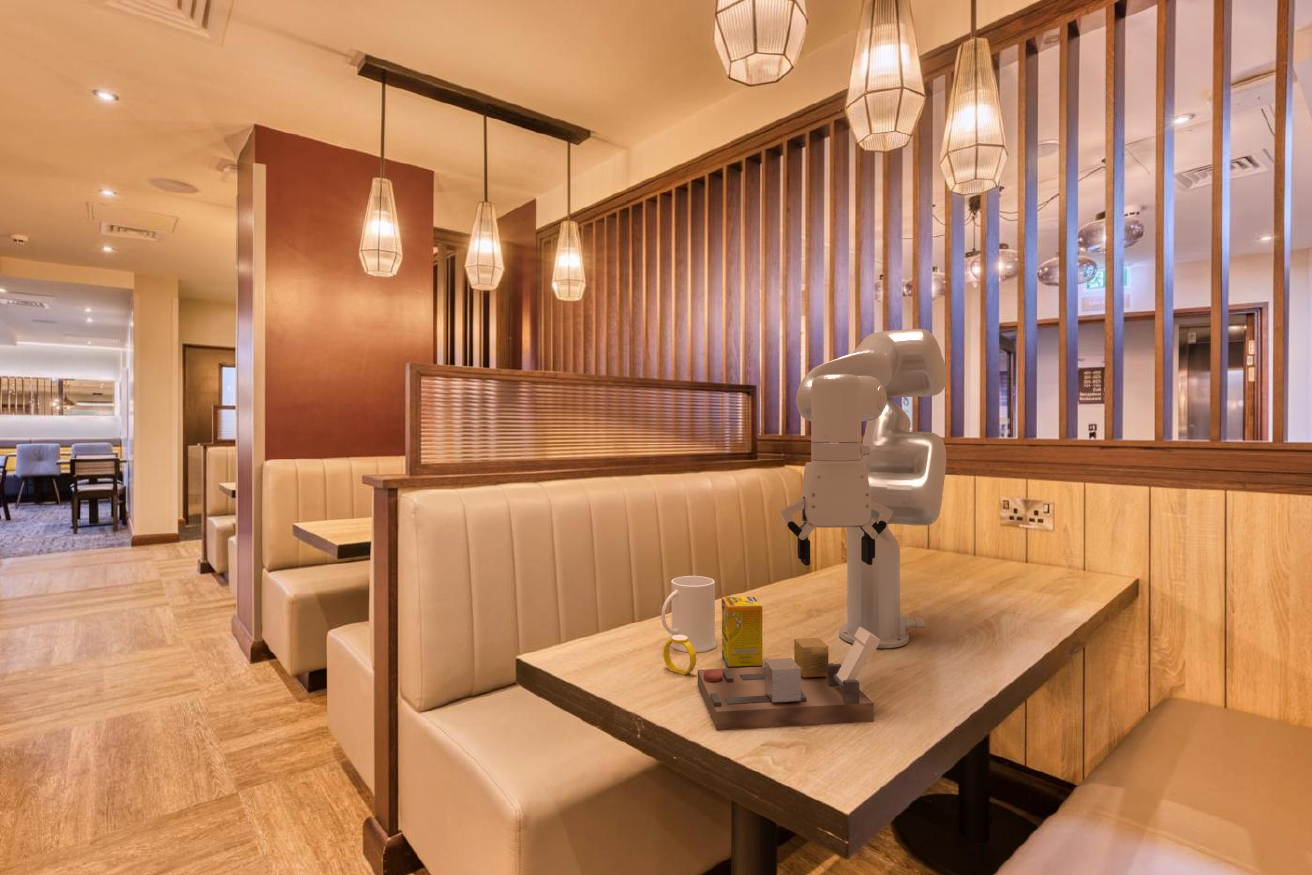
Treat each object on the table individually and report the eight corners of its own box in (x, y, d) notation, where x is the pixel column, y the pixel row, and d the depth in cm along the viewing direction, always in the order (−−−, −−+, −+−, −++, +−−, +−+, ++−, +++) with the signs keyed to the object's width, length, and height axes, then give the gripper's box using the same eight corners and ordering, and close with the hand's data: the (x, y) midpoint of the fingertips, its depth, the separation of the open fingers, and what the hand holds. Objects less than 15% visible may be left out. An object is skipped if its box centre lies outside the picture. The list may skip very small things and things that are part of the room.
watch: (698, 675, 108) (700, 640, 107) (688, 680, 106) (690, 644, 105) (669, 664, 111) (671, 630, 111) (659, 669, 109) (661, 634, 109)
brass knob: (819, 666, 103) (819, 637, 102) (828, 675, 99) (828, 646, 98) (794, 667, 102) (794, 638, 102) (802, 677, 98) (802, 647, 98)
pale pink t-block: (839, 683, 95) (868, 631, 96) (852, 696, 91) (882, 641, 91) (829, 677, 95) (858, 625, 95) (841, 690, 91) (871, 635, 91)
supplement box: (721, 658, 114) (720, 596, 114) (754, 657, 115) (754, 595, 114) (727, 671, 108) (727, 606, 108) (763, 670, 109) (762, 604, 109)
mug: (674, 660, 114) (673, 591, 113) (647, 646, 121) (646, 581, 121) (725, 646, 120) (725, 581, 120) (697, 634, 127) (697, 573, 127)
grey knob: (791, 689, 94) (791, 657, 94) (800, 700, 90) (800, 668, 90) (764, 690, 93) (764, 659, 93) (772, 702, 89) (772, 669, 89)
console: (832, 678, 105) (832, 644, 105) (873, 720, 90) (873, 681, 90) (697, 685, 103) (697, 650, 102) (716, 730, 88) (716, 689, 88)
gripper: (882, 452, 106) (882, 558, 106) (775, 453, 105) (776, 559, 106) (900, 454, 98) (900, 568, 98) (785, 455, 98) (786, 569, 98)
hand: (836, 563), depth 102 cm, fingers open, 9 cm apart
